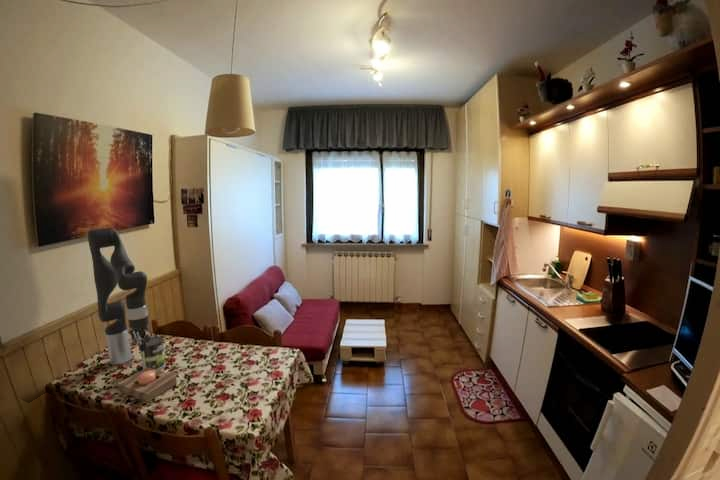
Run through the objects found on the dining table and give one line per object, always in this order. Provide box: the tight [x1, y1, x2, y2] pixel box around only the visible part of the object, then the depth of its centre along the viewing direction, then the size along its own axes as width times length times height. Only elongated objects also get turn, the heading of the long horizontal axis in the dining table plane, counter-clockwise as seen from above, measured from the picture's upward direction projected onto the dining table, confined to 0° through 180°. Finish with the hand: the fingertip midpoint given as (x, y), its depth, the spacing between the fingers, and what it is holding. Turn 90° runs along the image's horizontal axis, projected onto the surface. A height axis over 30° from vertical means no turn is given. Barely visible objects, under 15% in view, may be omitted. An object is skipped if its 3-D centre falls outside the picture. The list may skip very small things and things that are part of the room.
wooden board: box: [117, 367, 177, 403], centre depth 146 cm, size 20×14×4 cm
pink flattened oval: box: [138, 371, 156, 387], centre depth 146 cm, size 7×7×4 cm
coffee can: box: [140, 336, 167, 370], centre depth 162 cm, size 10×10×14 cm
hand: (143, 350), depth 143 cm, fingers closed
